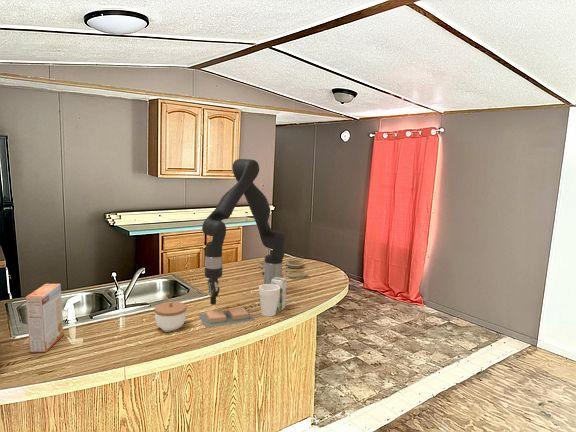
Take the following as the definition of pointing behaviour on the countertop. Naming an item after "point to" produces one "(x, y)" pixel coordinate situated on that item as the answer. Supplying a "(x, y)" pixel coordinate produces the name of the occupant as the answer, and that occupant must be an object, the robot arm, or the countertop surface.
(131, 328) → the countertop surface
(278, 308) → the syrup box
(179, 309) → the lidded bowl
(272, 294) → the foam cup
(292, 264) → the tableware set
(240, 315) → the tile
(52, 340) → the cracker box
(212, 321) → the tile
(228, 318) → the mat
